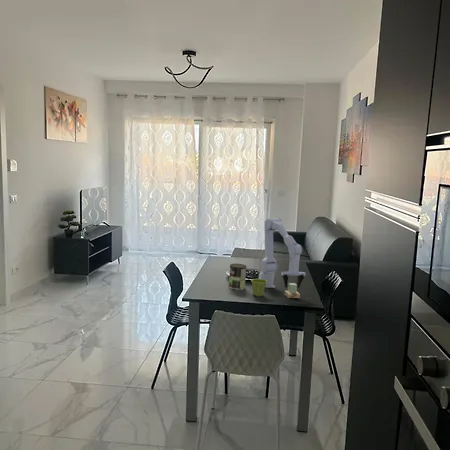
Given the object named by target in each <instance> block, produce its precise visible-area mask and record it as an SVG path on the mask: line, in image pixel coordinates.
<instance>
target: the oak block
mask: <svg viewBox="0 0 450 450" xmlns="http://www.w3.org/2000/svg"><path fill="white" fill-rule="evenodd" d="M284 296H285V297H286V298H287V299H289V298H298V299H299V298H301V294H300V293H299V292H298V291H296V293H289V292H288V290H284Z"/></svg>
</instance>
